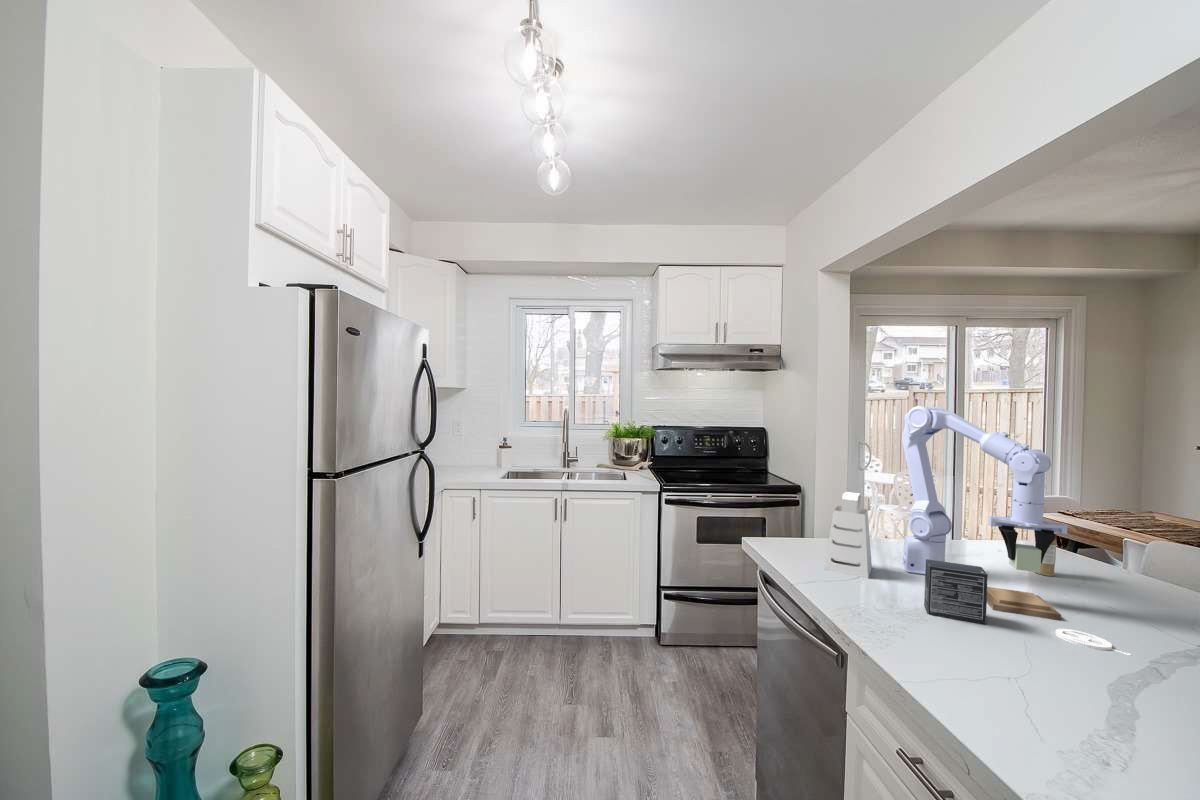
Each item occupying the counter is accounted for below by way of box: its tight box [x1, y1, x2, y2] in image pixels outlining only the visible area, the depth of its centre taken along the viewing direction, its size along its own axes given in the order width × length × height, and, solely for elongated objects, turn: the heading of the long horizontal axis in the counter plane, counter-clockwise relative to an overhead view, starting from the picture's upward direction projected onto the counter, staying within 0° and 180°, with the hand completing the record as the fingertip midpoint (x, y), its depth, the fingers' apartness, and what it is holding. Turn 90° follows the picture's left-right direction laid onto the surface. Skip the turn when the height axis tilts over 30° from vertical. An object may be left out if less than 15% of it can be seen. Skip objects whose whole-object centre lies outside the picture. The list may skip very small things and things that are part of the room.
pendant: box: [1055, 628, 1132, 657], centre depth 103 cm, size 7×11×1 cm, turn 37°
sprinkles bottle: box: [1034, 532, 1058, 577], centre depth 146 cm, size 5×5×14 cm
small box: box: [923, 559, 989, 625], centre depth 115 cm, size 11×6×10 cm, turn 65°
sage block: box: [1008, 543, 1041, 573], centre depth 124 cm, size 4×4×5 cm
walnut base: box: [987, 586, 1062, 621], centre depth 122 cm, size 12×12×2 cm
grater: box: [823, 491, 873, 579], centre depth 143 cm, size 10×10×20 cm
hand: (1024, 560), depth 124 cm, fingers closed on sage block, 4 cm apart
